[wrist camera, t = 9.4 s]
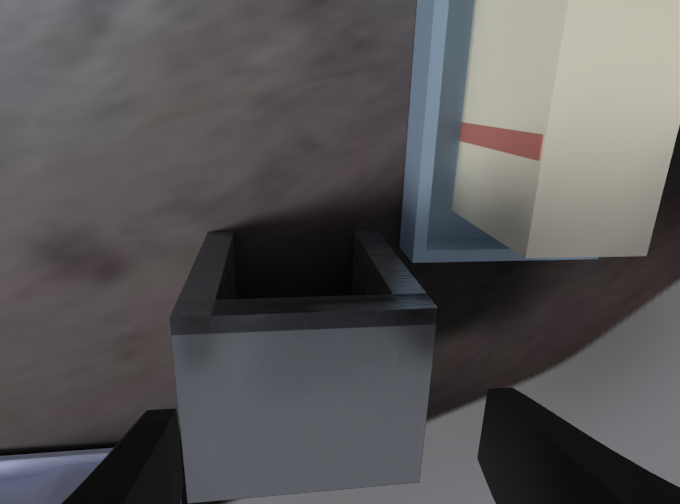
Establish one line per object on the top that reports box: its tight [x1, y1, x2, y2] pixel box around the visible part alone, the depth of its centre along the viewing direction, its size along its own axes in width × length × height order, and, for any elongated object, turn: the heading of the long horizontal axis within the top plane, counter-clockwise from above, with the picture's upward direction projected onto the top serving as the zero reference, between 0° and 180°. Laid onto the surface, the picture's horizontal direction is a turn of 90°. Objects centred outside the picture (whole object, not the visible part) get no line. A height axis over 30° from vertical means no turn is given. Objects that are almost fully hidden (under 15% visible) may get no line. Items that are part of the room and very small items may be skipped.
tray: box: [399, 0, 599, 263], centre depth 17 cm, size 8×16×2 cm, turn 178°
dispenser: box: [170, 231, 438, 503], centre depth 17 cm, size 7×6×8 cm
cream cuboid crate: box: [452, 0, 680, 258], centre depth 15 cm, size 4×12×6 cm, turn 178°
